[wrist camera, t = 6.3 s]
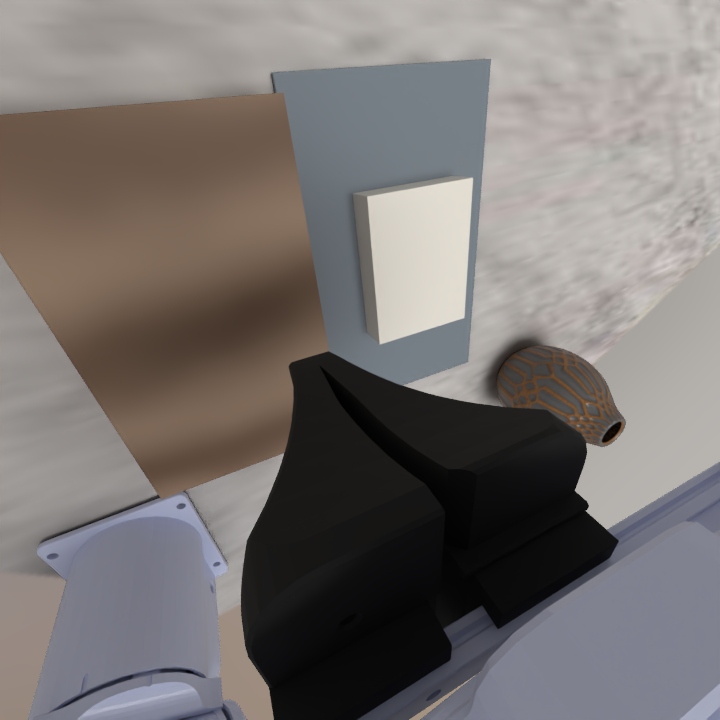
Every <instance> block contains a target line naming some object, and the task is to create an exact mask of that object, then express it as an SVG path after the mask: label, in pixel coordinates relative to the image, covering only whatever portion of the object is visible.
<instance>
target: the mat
mask: <svg viewBox="0 0 720 720" xmlns="http://www.w3.org/2000/svg"><path fill="white" fill-rule="evenodd" d="M490 64H491V59H484V60H467V61H451V62H435V63H419V64H402V65H386V66H370V67H354V68H338V69H321V70H305V71H289V72H273V73H272V74H271V75H272V80H273V86H274V91H275V93H284V98H285V104H286V109H287V115H288V121H289V126H290V132H291V138H292V143H293V149H294V155H295V160H296V166H297V172H298V177H299V183H300V189H301V194H302V200H303V206H304V211H305V217H306V223H307V228H308V234H309V240H310V245H311V251H312V257H313V262H314V268H315V274H316V279H317V285H318V291H319V296H320V302H321V308H322V314H323V319H324V325H325V331H326V336H327V342H328V348H329V352H331V353H333V354H335V355H337V356H339V357H341V358H343V359H345V360H346V361H348V362H350V363H352V364H354V365H356V366H358V367H360V368H362V369H364V370H366V371H368V372H370V373H373V374H375V375H377V376H379V377H382V378H384V379H387V380H389V381H392V382H394V383H397V384H399V385H405V384H408V383H411V382H413V381H416V380H419V379H422V378H425V377H427V376H430V375H433V374H436V373H439V372H441V371H444V370H447V369H450V368H452V367H455V366H458V365H461V364H464V363H466V362H468V356H469V342H470V329H471V316H472V303H473V289H474V276H475V263H476V250H477V236H478V223H479V210H480V196H481V183H482V170H483V157H484V143H485V130H486V117H487V104H488V90H489V77H490ZM450 176H458V177H472V178H473V188H472V204H471V220H470V236H469V252H468V268H467V284H466V300H465V316H464V318H463V319H460V320H456V321H453V322H450V323H447V324H444V325H441V326H437V327H434V328H431V329H428V330H425V331H422V332H418V333H415V334H412V335H409V336H406V337H402V338H399V339H396V340H393V341H390V342H387V343H383V344H379V343H378V342H377V341H376V340H375V339H374V338H372V337H371V336H370V335H369V334H368V333H367V325H366V316H365V306H364V297H363V288H362V278H361V269H360V259H359V250H358V240H357V231H356V221H355V212H354V202H353V193H358V192H363V191H369V190H375V189H381V188H386V187H392V186H398V185H404V184H409V183H415V182H421V181H427V180H432V179H438V178H444V177H450Z"/></svg>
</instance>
